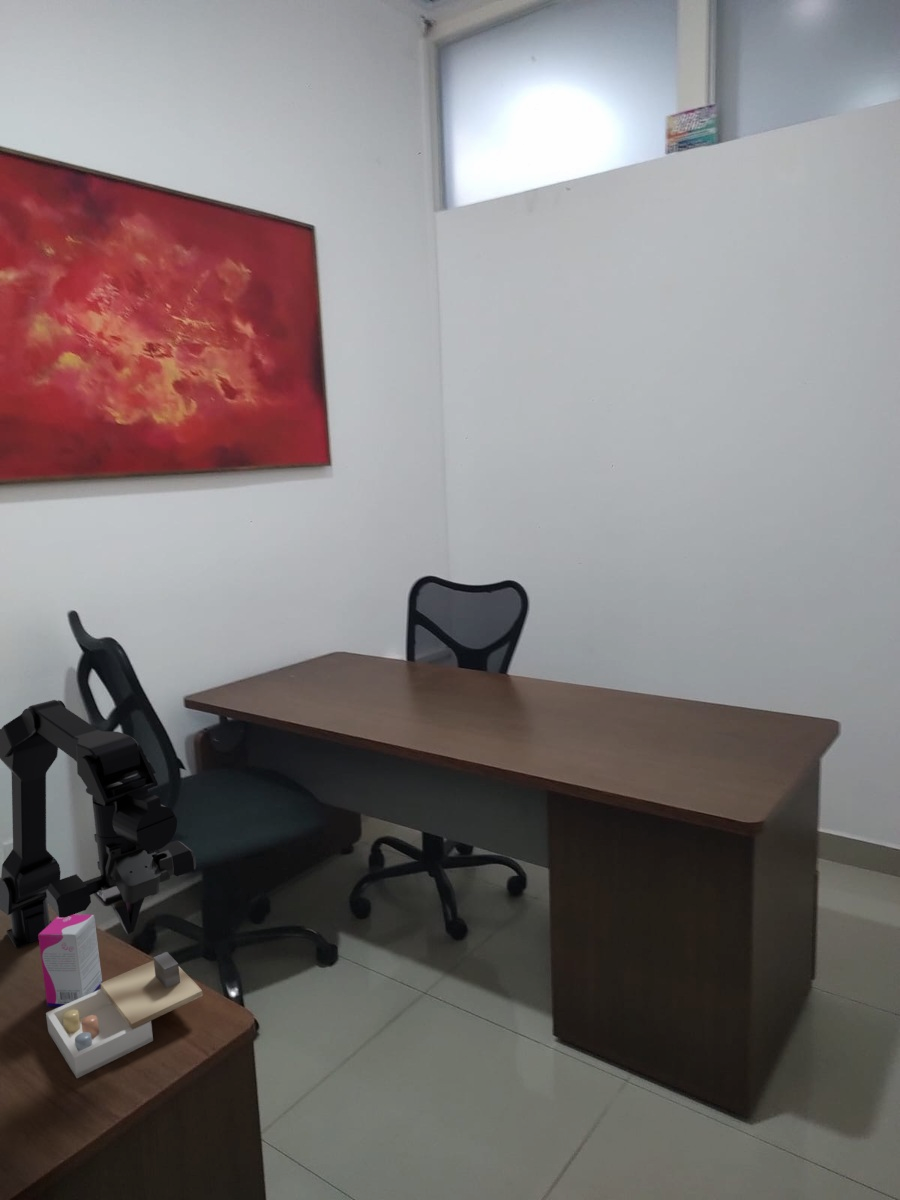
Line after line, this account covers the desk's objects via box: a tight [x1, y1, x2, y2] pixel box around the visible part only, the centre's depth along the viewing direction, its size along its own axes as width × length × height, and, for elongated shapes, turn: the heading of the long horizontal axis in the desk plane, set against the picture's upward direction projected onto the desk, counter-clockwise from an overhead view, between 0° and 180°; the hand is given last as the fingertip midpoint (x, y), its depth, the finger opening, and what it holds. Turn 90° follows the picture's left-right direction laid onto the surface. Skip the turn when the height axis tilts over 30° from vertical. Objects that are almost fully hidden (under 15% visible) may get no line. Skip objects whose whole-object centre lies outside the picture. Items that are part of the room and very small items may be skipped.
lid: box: [100, 951, 204, 1029], centre depth 119 cm, size 12×10×4 cm
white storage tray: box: [45, 988, 154, 1079], centre depth 115 cm, size 12×10×3 cm
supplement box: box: [38, 914, 103, 1008], centre depth 123 cm, size 6×6×12 cm
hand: (129, 932), depth 117 cm, fingers closed
